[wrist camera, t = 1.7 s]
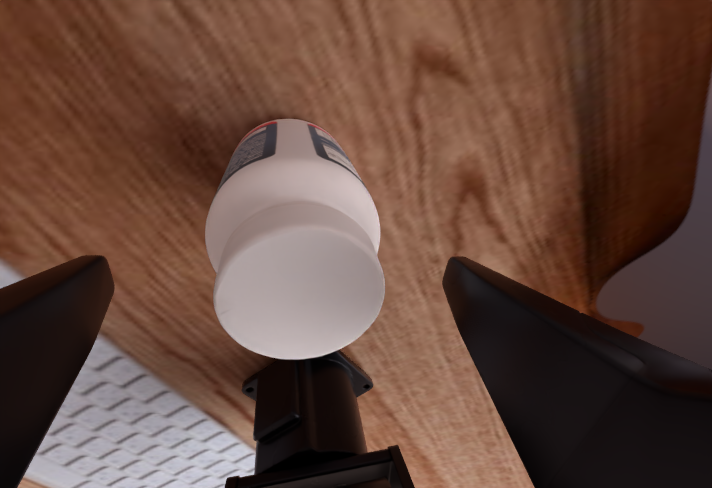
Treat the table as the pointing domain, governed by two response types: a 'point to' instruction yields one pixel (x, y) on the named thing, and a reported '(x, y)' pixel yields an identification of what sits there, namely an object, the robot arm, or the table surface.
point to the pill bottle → (294, 244)
